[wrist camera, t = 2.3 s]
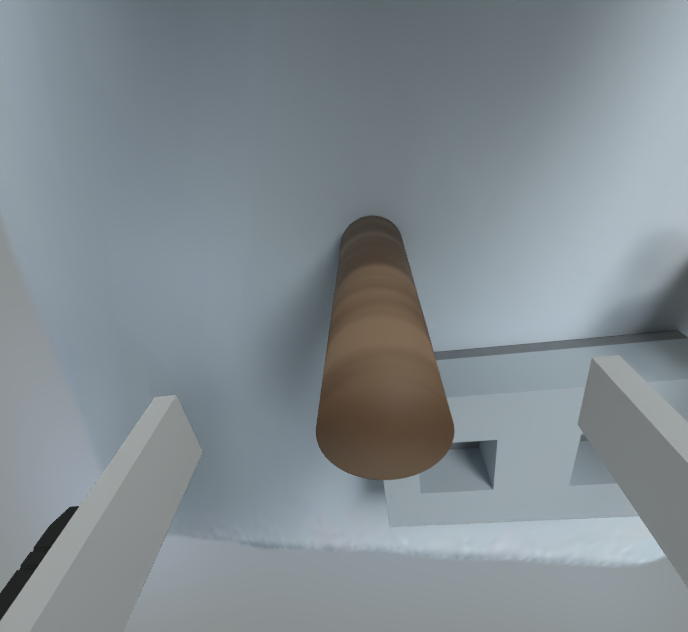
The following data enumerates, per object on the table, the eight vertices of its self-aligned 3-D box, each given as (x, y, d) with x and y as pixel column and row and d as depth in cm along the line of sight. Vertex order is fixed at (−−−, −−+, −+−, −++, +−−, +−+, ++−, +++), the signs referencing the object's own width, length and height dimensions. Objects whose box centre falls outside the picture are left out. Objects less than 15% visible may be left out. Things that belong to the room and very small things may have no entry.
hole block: (370, 358, 29) (372, 403, 25) (678, 330, 27) (738, 374, 23) (386, 475, 36) (389, 527, 32) (632, 461, 34) (671, 514, 30)
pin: (336, 219, 24) (304, 388, 10) (400, 211, 24) (454, 376, 10) (345, 277, 26) (327, 483, 12) (404, 270, 26) (454, 476, 12)
